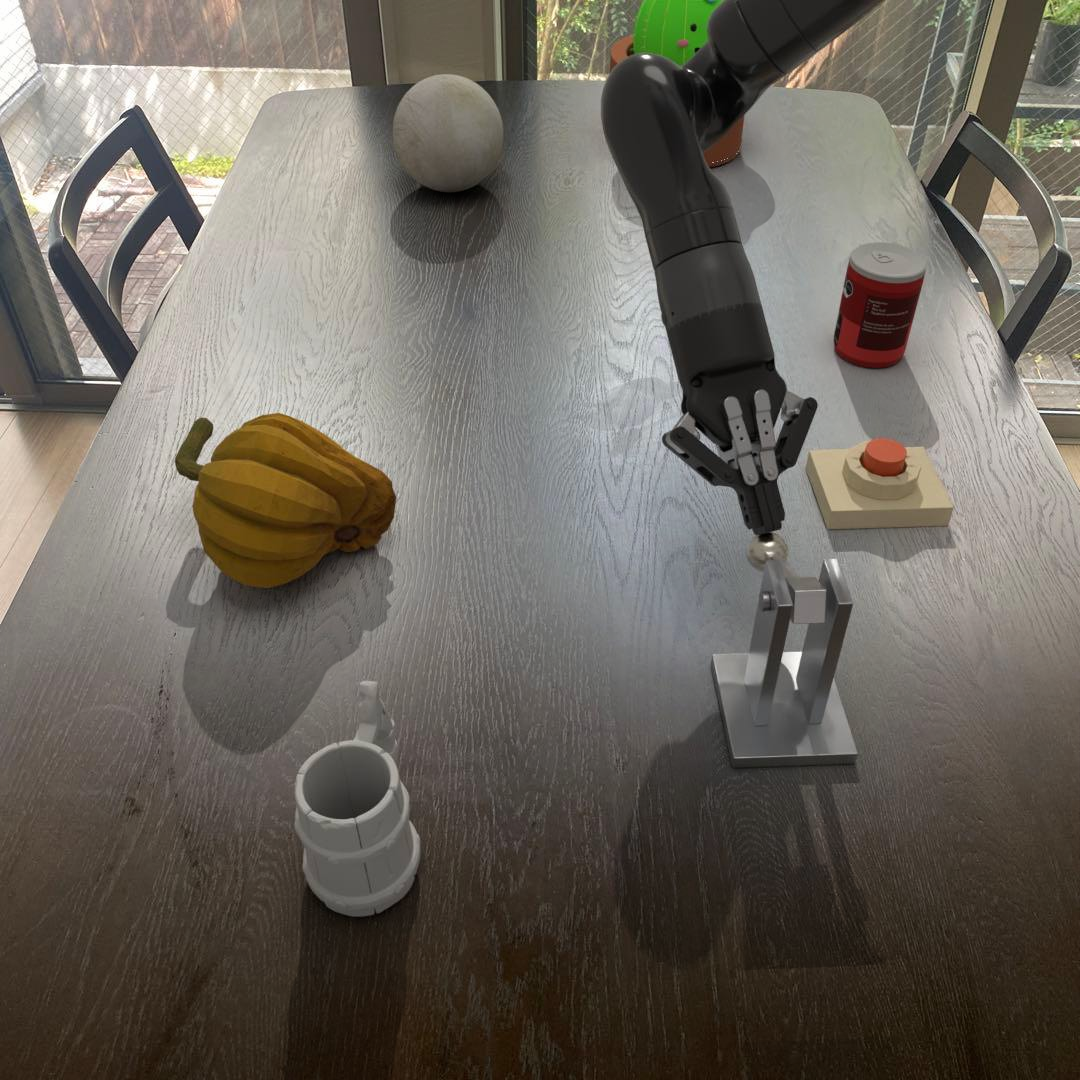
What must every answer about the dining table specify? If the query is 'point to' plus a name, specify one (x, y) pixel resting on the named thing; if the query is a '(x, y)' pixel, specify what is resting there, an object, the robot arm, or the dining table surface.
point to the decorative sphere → (448, 133)
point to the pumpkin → (281, 498)
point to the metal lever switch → (787, 682)
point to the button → (884, 457)
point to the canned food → (878, 304)
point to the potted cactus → (677, 50)
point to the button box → (877, 491)
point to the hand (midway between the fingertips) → (768, 532)
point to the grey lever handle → (790, 578)
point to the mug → (357, 817)
